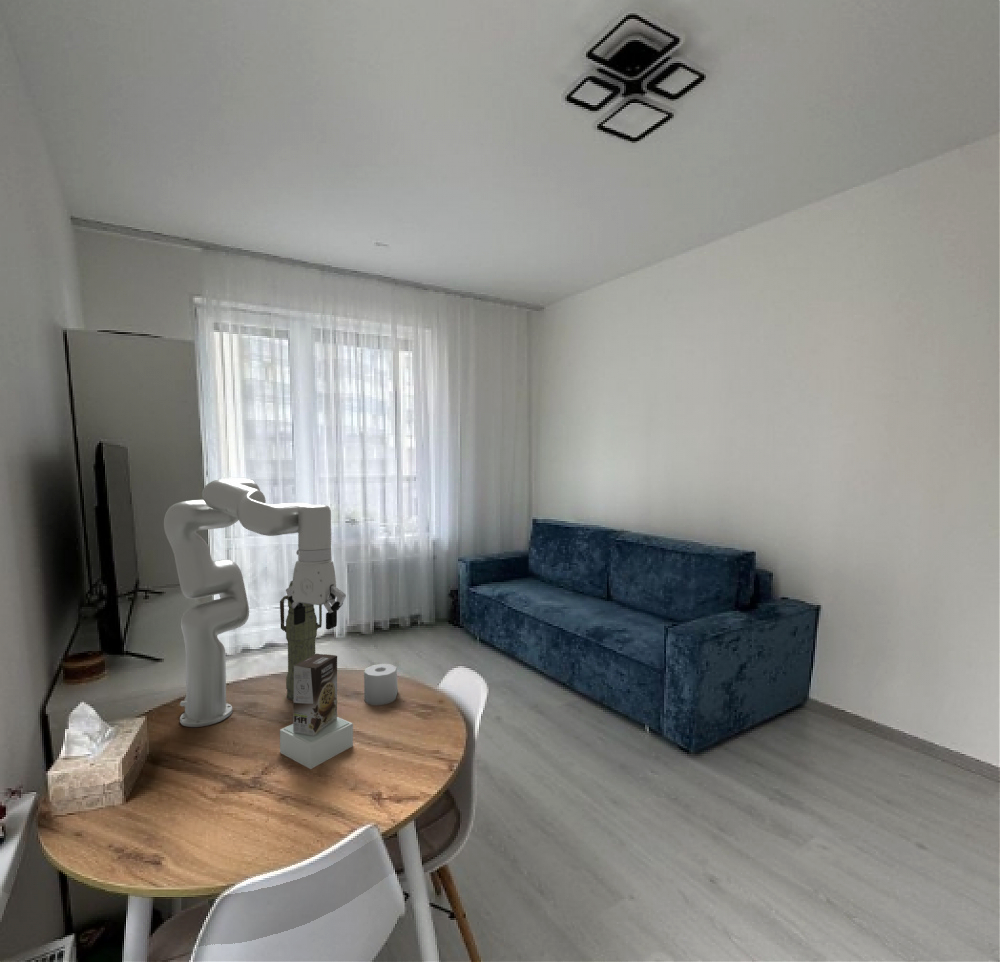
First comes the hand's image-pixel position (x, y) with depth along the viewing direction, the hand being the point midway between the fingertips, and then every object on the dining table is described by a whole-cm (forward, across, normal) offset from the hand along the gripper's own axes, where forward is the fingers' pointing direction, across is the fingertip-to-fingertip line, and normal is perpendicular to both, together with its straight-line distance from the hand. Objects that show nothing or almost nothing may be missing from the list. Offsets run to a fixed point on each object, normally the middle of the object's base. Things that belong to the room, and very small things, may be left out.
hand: (315, 625), depth 125 cm
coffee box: (+25, 0, 0) cm, 25 cm away
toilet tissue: (+31, -2, +31) cm, 43 cm away
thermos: (+31, -26, +23) cm, 46 cm away
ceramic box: (+31, 0, 0) cm, 31 cm away
